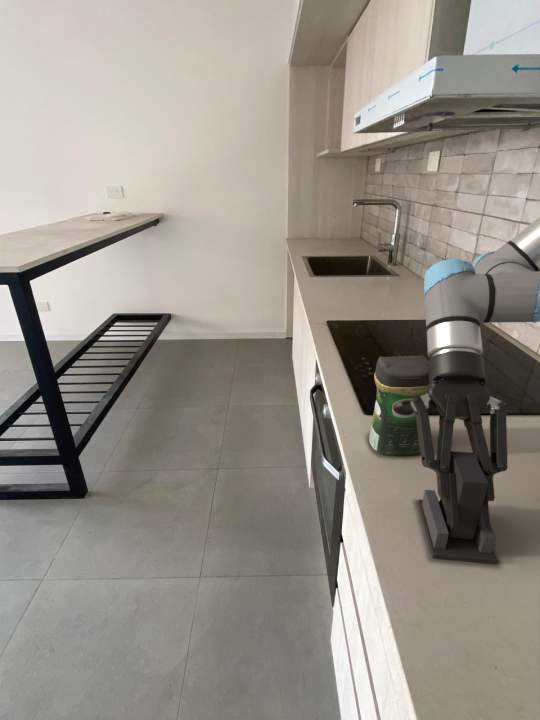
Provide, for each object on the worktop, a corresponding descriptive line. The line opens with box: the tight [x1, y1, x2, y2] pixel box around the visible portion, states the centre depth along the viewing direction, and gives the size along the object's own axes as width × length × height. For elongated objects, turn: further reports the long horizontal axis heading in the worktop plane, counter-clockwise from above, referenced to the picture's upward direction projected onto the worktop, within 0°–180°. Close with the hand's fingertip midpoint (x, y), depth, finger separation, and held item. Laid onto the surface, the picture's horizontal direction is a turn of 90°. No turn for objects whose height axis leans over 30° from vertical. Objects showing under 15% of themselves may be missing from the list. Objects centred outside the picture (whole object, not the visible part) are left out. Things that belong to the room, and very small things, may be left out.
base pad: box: [417, 489, 497, 565], centre depth 57 cm, size 8×10×4 cm
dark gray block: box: [439, 450, 488, 539], centre depth 54 cm, size 3×6×10 cm, turn 172°
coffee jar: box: [368, 354, 429, 457], centre depth 72 cm, size 10×8×19 cm
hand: (468, 525), depth 52 cm, fingers closed on dark gray block, 3 cm apart
